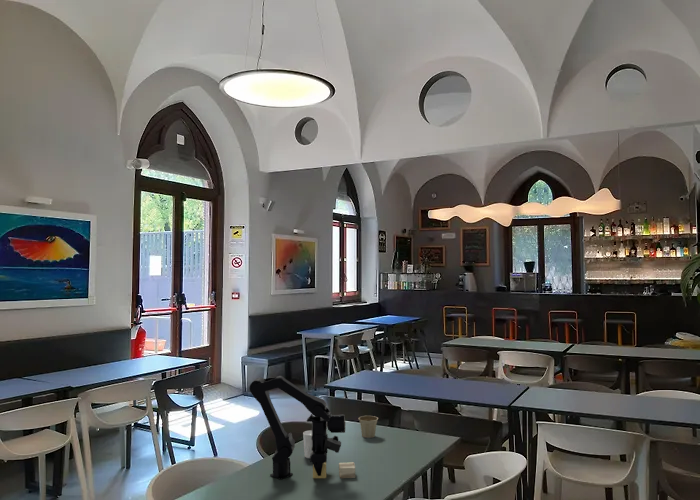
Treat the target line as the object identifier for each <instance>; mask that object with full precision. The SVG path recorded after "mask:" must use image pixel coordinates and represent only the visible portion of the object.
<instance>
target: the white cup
mask: <svg viewBox="0 0 700 500" xmlns="http://www.w3.org/2000/svg"><path fill="white" fill-rule="evenodd" d="M302 436H303V438H302V439H303V451H304V458H306V459H310V455H311V453H312V429H310V430H305V431H303V432H302Z"/></svg>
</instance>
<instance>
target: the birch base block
mask: <svg viewBox="0 0 700 500" xmlns="http://www.w3.org/2000/svg"><path fill="white" fill-rule="evenodd" d="M338 475H339V479H355V478H356V464H355V462H353V461H351V462H338Z"/></svg>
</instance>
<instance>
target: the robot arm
mask: <svg viewBox="0 0 700 500" xmlns="http://www.w3.org/2000/svg"><path fill="white" fill-rule="evenodd" d="M274 389H279V390H281V391H282V392H284V393H286V394H287V395H289V396H290V397H291V398H293V399H295V400H296V401H298V402H299V403H301V404H302V405H303V406H304V407H305V408H306V409H307V411H308V412H310V413H311V414H310V415H309V417H307V419H306V422H307V423H308V422H309V423H311V430H312V453H311V455H310V458H309V462H310V463H311V464H312V466H313V465H314V468H315V470H316V472H317V475H318V476H321V471H322V466H323V463H324V462H326V463H327V462H328V461H327V459H328V450H330V451H332V452H335V454H336V453H337V454H339V452H340V449H341V447H342V441H341V440H339V436H337V435H334V436H333V437H328V434H327V433H328V432H327V431H329V432H330V433H331V434H337V433H338V434H341V433H343V434H344V433H346V418H345V414H342V413H341V414H332V412H331V411H330V410H329V408H328V405H327V402H326V401H325V400H324V399H323V398H320V397H318V396H315V395H312V394H310V393H308V392H307V391H304V390H303V389H301V388H300V387H298V386H297V385H295V384H293V383H292V382H291V381H289V380H288V379H286V378H285V377H284V376H282V375H278V376H274V377H267V378H263V377H257V378H255V379H254V380H253V381H252V382H251V383H250V384H249V392H250V393H251V395H252V396H253V398H254V399H255V400H256V401H257V402H258V404H259V405H260V407H261V409H262V411H263V413H264V416H265V418H266V420H267V422H268V424H269V427H270V429H271V431H272V433H273V436H274V439H275V447H276V450H275V452H274V453H273V454H272V458H271V459H272V473H270V474H269V476H270V477H273V478H276V479H278V480H283V479H285V478H288V477H291V476H293V472H291V459H290V457H291V456H292V454H293V452H294V450H295V447H296V446H295V445H296V444H295V443H296V440H295V439H294V438H293V434H292V432H289V433H288V432H287V431H286V430H285V429H284V426H283V425H282V421H281V420H280V417H279V416H278V413H277V411H276V408H275V406H274V404H273V402H272V400H271V397H270V396H271V395H270V391H271V390H274Z"/></svg>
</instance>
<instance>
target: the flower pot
mask: <svg viewBox="0 0 700 500" xmlns="http://www.w3.org/2000/svg"><path fill="white" fill-rule="evenodd" d="M378 420H379V417H377V416H375V415H374V416H373V415H362V416H359V417H358V421H359V425H360V429H361V436H362V438H364V439H366V438H368V439H372V438H375V436H376V430H377V428H376V427H377V423H378Z"/></svg>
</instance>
